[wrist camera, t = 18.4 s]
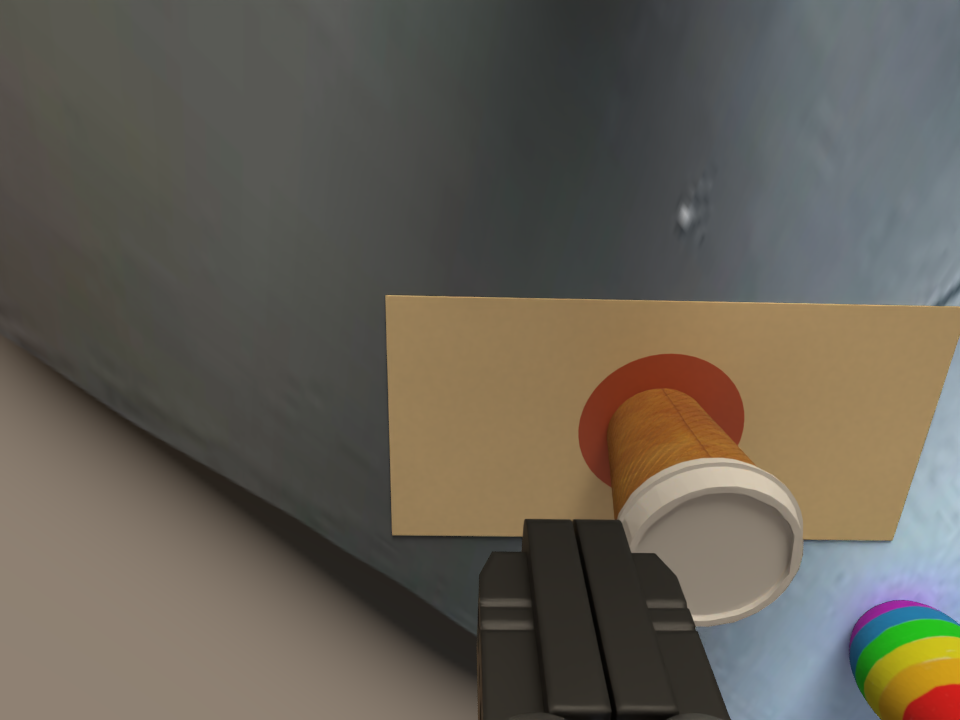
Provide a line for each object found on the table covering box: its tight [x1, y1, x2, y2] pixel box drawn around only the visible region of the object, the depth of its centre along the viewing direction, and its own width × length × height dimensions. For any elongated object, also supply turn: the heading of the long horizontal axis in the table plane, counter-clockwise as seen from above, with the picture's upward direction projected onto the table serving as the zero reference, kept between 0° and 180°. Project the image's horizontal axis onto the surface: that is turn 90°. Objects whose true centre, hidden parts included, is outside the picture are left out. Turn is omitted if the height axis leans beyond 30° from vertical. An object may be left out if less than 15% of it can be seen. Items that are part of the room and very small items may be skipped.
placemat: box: [385, 295, 960, 541], centre depth 47 cm, size 17×34×1 cm, turn 88°
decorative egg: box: [849, 600, 960, 720], centre depth 50 cm, size 8×8×10 cm
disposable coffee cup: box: [607, 388, 803, 627], centre depth 41 cm, size 10×10×12 cm
